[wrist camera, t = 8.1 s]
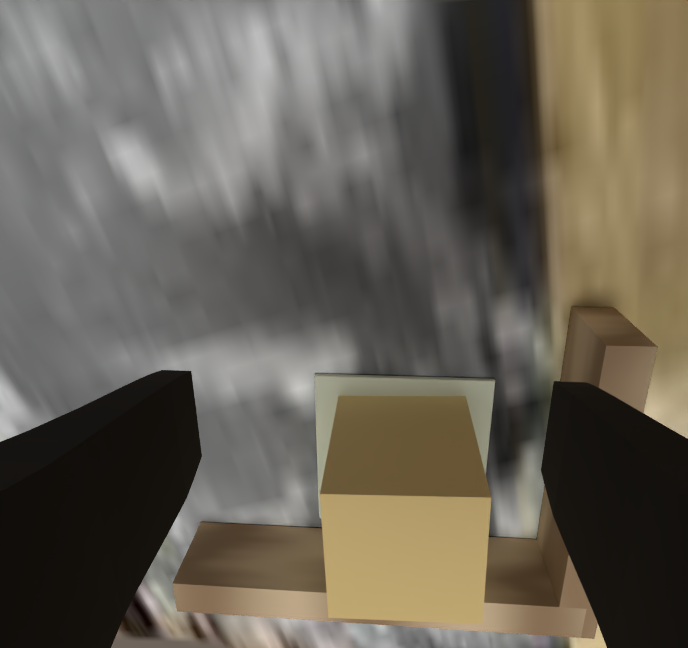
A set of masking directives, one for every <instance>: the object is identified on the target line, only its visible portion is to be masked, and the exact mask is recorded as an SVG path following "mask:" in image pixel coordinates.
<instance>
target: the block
mask: <svg viewBox="0 0 688 648" xmlns="http://www.w3.org/2000/svg"><path fill="white" fill-rule="evenodd" d="M320 505H321V520H322V534H323V548H324V562H325V576H326V590H327V605H328V618H346V619H370V620H393V621H417V622H441V623H464V624H483V610H484V596H485V581H486V567H487V552H488V538H489V523H490V509H491V495H490V491H489V487H488V483H487V479H486V475H485V471H484V467H483V463H482V459H481V455H480V451H479V447H478V443H477V439H476V435H475V431H474V427H473V423H472V419H471V415H470V411H469V407H468V403H467V399H466V396H338V401H337V406H336V411H335V417H334V422H333V427H332V432H331V438H330V443H329V448H328V453H327V458H326V464H325V469H324V474H323V479H322V485H321V490H320Z"/></svg>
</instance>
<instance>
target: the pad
mask: <svg viewBox="0 0 688 648" xmlns="http://www.w3.org/2000/svg"><path fill="white" fill-rule="evenodd" d="M314 378H315V408H316V437H317V466H318V496H319V518H321V505H320V490H321V485H322V479H323V474H324V469H325V464H326V458H327V453H328V448H329V443H330V438H331V432H332V427H333V422H334V417H335V411H336V406H337V401H338V396H466V399H467V403H468V407H469V411H470V415H471V419H472V423H473V427H474V431H475V435H476V439H477V443H478V447H479V451H480V455H481V459H482V463H483V467H484V471H485V475H486V466H487V456H488V446H489V436H490V426H491V416H492V407H493V397H494V387H495V380H494V379H487V378H452V377H416V376H381V375H346V374H315V376H314Z"/></svg>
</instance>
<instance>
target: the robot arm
mask: <svg viewBox="0 0 688 648" xmlns="http://www.w3.org/2000/svg"><path fill="white" fill-rule="evenodd" d="M201 457H202V454H201V446H200V438H199V430H198V422H197V414H196V406H195V398H194V390H193V382H192V374H191V371H172V370H161V371H158V372H155V373H152V374H150V375H147V376H145V377H143V378H140V379H138V380H136V381H134V382H132V383H130V384H128V385H125V386H123V387H121V388H119V389H117V390H115V391H113V392H111V393H109V394H107V395H105V396H103V397H101V398H99V399H97V400H95V401H93V402H90V403H88V404H86V405H84V406H82V407H80V408H78V409H76V410H74V411H71V412H69V413H67V414H65V415H62V416H60V417H58V418H56V419H54V420H51V421H49V422H47V423H45V424H42V425H40V426H38V427H36V428H33V429H31V430H29V431H27V432H24V433H22V434H19V435H17V436H14V437H12V438H9V439H7V440H4V441H2V442H0V648H111V646H112V644H113V641H114V639H115V636H116V634H117V632H118V629H119V627H120V624H121V622H122V620H123V617H124V615H125V613H126V611H127V609H128V607H129V605H130V603H131V601H132V599H133V597H134V595H135V593H136V591H137V589H138V587H139V586H140V584H141V582H142V580H143V578H144V576H145V575H146V573H147V571H148V569H149V567H150V565H151V563H152V562H153V560H154V558H155V556H156V554H157V552H158V551H159V549H160V547H161V545H162V543H163V541H164V540H165V538H166V536H167V534H168V532H169V530H170V528H171V527H172V525H173V523H174V521H175V519H176V517H177V515H178V513H179V512H180V510H181V508H182V506H183V504H184V502H185V500H186V498H187V495H188V493H189V490H190V488H191V485H192V482H193V480H194V477H195V474H196V471H197V468H198V465H199V463H200V460H201ZM541 472H542V476H543V480H544V484H545V488H546V492H547V496H548V500H549V503H550V507H551V510H552V514H553V517H554V519H555V522H556V524H557V527H558V529H559V532H560V534H561V537H562V539H563V542H564V544H565V546H566V549H567V551H568V554H569V556H570V558H571V561H572V563H573V565H574V568H575V570H576V572H577V575H578V577H579V580H580V582H581V584H582V587H583V589H584V591H585V594H586V596H587V598H588V601H589V603H590V606H591V608H592V610H593V613H594V615H595V617H596V620H597V622H598V625H599V627H600V630H601V633H602V635H603V638H604V641H605V643H606V646H607V648H688V439H687V438H685V437H683V436H682V435H680V434H678V433H676V432H675V431H673V430H671V429H669V428H668V427H666V426H664V425H662V424H661V423H659V422H657V421H655V420H654V419H652V418H650V417H649V416H647V415H645V414H644V413H642V412H640V411H638V410H637V409H635V408H633V407H632V406H630V405H628V404H627V403H625V402H623V401H622V400H620V399H618V398H616V397H615V396H613V395H611V394H609V393H608V392H606V391H604V390H602V389H600V388H598V387H596V386H594V385H592V384H590V383H587V382H558V381H554V385H553V392H552V399H551V406H550V412H549V419H548V426H547V433H546V440H545V447H544V454H543V461H542V468H541Z"/></svg>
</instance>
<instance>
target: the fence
mask: <svg viewBox="0 0 688 648" xmlns="http://www.w3.org/2000/svg"><path fill="white" fill-rule="evenodd" d="M656 352H657V346H656V345H655V344H654V343H653V342H652V341H651V340H650V339H648V338H647V337H646V336H645V335H644V334H643V333H642V332H641V331H640V330H638V329H637V328H636V327H635V326H634V325H633V324H632V323H631V322H630V321H628V320H627V319H626V318H625V317H624V316H623V315H622V314H621V313H620V312H618V311H617V310H616V309H615V308H601V307H571V314H570V321H569V327H568V334H567V341H566V347H565V354H564V361H563V367H562V374H561V381H560V382H587V383H590V384H592V385H594V386H596V387H598V388H600V389H602V390H604V391H606V392H608V393H609V394H611V395H613V396H615V397H616V398H618V399H620V400H622V401H623V402H625V403H627V404H628V405H630V406H632V407H633V408H635V409H637V410H638V411H640V412H642V413H643V412H644V407H645V403H646V398H647V393H648V389H649V384H650V380H651V375H652V370H653V366H654V361H655V357H656ZM173 589H174V596H175V602H176V608H177V611H180V612H195V613H211V614H226V615H241V616H256V617H272V618H287V619H302V620H317V621H333V622H348V623H363V624H378V625H394V626H409V627H424V628H439V629H455V630H470V631H485V632H500V633H516V634H531V635H546V636H561V637H576V638H592V639H594V637H595V633H596V628H597V624H598V622H597V620H596V617H595V615H594V613H593V610H592V608H591V606H590V603H589V601H588V598H587V596H586V594H585V591H584V589H583V587H582V584H581V582H580V580H579V577H578V575H577V572H576V570H575V568H574V565H573V563H572V561H571V558H570V556H569V554H568V551H567V549H566V546H565V544H564V542H563V539H562V537H561V534H560V532H559V529H558V527H557V524H556V522H555V519H554V517H553V514H552V510H551V507H550V503H549V500H548V496H547V492H546V488H545V487H544V494H543V501H542V507H541V514H540V521H539V527H538V534H537V539H520V538H500V537H489V538H488V552H487V567H486V581H485V596H484V610H483V624H464V623H441V622H417V621H393V620H370V619H346V618H328V605H327V590H326V576H325V562H324V548H323V534H322V528H307V527H287V526H268V525H249V524H229V523H210V522H201V523H200V526H199V528H198V530H197V532H196V534H195V536H194V538H193V541H192V543H191V545H190V547H189V549H188V551H187V553H186V556H185V558H184V560H183V562H182V564H181V566H180V569H179V571H178V573H177V575H176V577H175V579H174V581H173Z"/></svg>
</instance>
